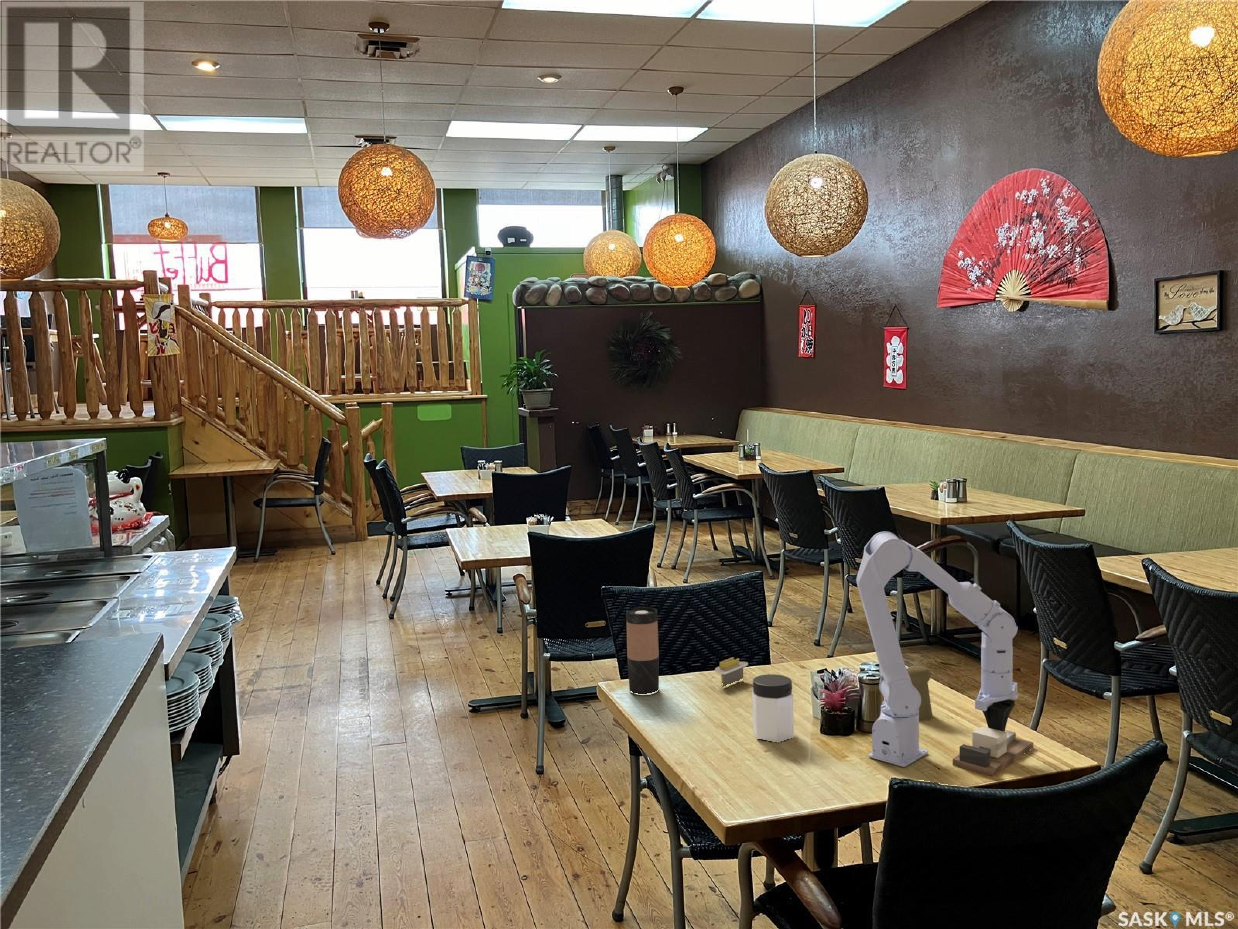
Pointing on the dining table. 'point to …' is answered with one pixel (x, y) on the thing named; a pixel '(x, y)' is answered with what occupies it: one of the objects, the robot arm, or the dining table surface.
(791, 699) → the jar
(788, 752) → the dining table surface
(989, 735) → the slider
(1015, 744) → the rail board
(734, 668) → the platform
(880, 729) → the robot arm
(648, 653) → the travel mug
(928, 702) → the cork
